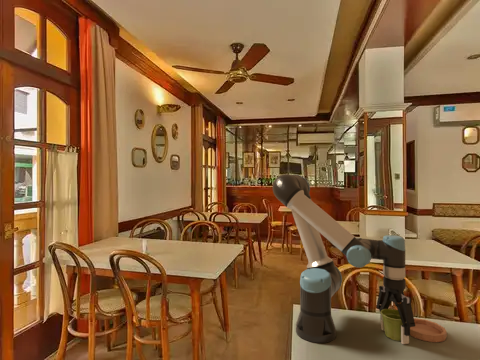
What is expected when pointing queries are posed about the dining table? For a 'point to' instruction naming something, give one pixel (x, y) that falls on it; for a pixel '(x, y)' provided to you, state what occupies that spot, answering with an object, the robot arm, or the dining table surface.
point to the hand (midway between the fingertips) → (394, 336)
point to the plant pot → (392, 323)
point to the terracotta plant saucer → (428, 331)
